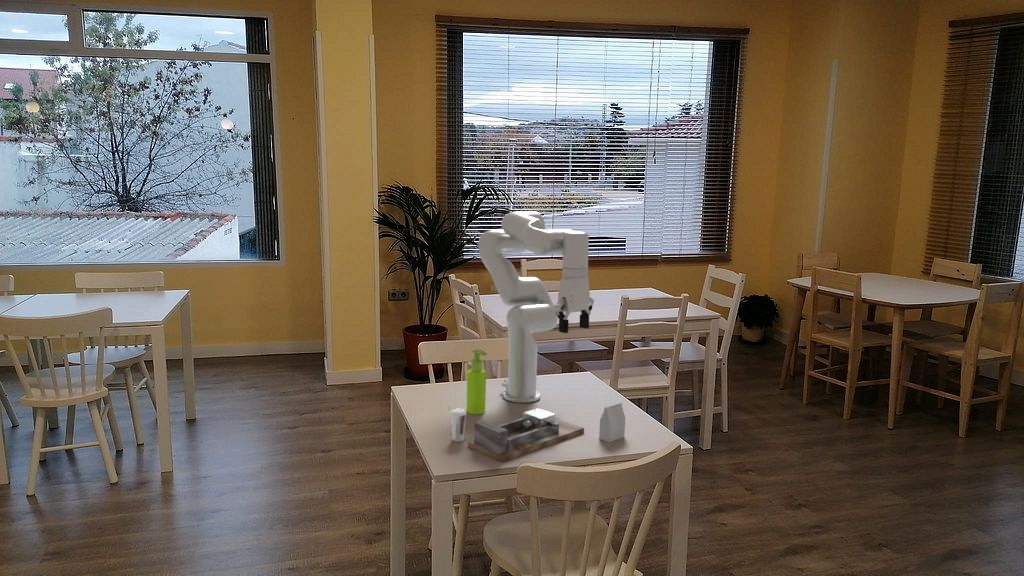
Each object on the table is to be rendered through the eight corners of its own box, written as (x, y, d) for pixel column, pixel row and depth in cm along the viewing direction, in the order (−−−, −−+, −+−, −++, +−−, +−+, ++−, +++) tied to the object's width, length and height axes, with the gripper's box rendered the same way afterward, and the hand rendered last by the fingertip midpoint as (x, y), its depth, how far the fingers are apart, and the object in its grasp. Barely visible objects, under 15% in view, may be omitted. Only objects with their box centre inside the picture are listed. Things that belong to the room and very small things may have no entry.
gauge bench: (549, 419, 227) (550, 396, 226) (583, 432, 217) (585, 408, 216) (467, 446, 204) (468, 420, 203) (502, 462, 195) (503, 435, 193)
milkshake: (448, 436, 212) (448, 403, 210) (466, 437, 212) (467, 403, 210) (446, 442, 207) (446, 408, 205) (465, 443, 207) (465, 409, 205)
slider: (537, 424, 218) (537, 407, 217) (562, 433, 211) (563, 417, 210) (515, 431, 212) (516, 414, 211) (541, 441, 205) (541, 424, 204)
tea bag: (624, 437, 215) (626, 404, 213) (608, 442, 210) (610, 409, 209) (614, 433, 217) (616, 401, 216) (599, 438, 213) (600, 405, 211)
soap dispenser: (476, 416, 229) (477, 354, 225) (462, 410, 234) (463, 349, 230) (491, 412, 232) (492, 351, 229) (477, 406, 237) (478, 346, 234)
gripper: (583, 269, 227) (582, 324, 229) (546, 274, 215) (545, 332, 217) (603, 272, 222) (601, 328, 224) (566, 277, 210) (565, 336, 212)
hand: (574, 330), depth 221 cm, fingers open, 9 cm apart
